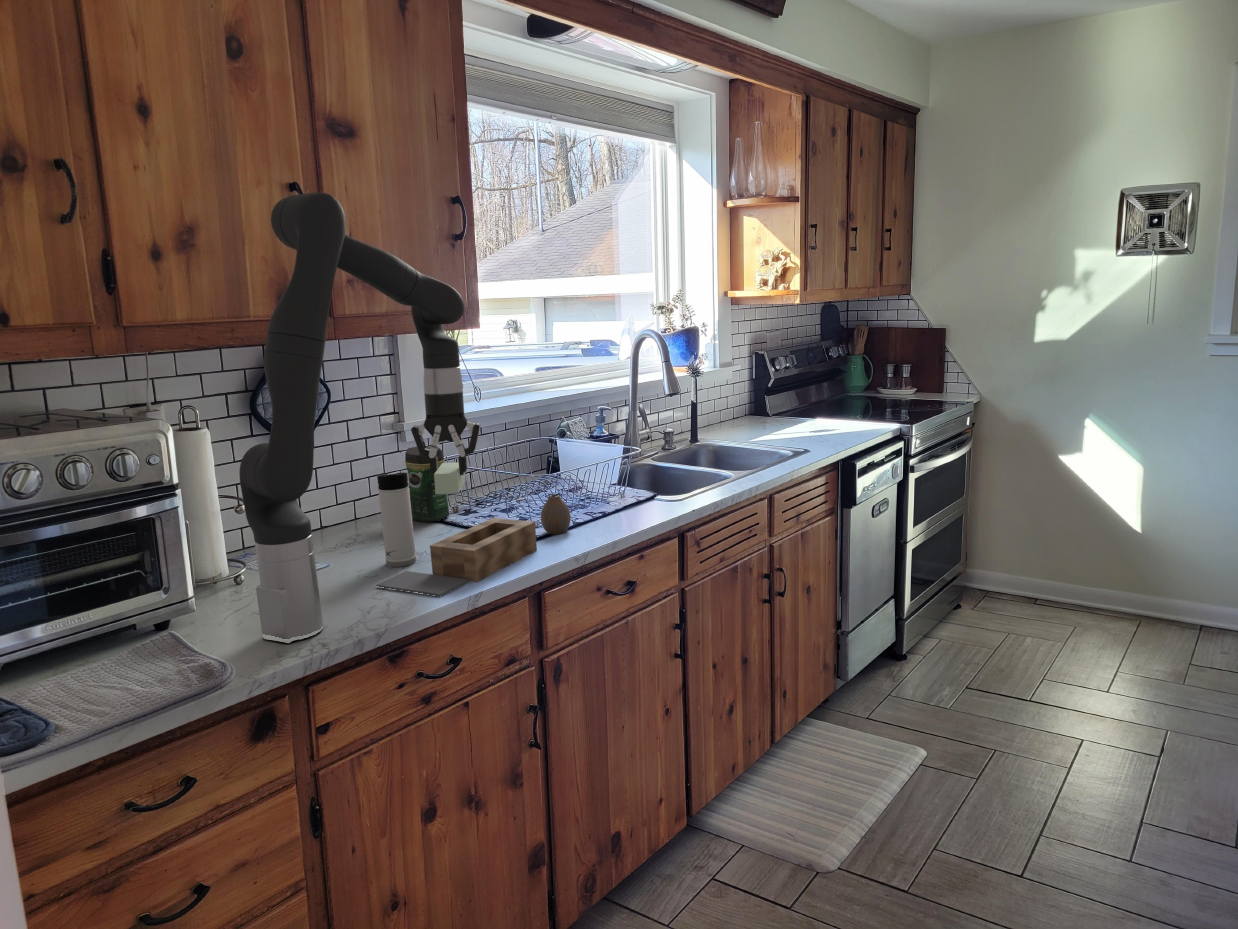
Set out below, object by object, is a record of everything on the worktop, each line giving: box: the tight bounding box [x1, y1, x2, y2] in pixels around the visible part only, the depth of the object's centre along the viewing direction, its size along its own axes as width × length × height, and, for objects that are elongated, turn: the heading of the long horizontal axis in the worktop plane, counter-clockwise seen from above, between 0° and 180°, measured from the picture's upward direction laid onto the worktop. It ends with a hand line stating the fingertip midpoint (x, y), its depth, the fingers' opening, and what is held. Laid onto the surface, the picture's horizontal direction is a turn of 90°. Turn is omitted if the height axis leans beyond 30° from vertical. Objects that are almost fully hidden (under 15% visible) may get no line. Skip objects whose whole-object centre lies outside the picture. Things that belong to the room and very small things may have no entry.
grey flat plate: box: [375, 570, 470, 597], centre depth 181 cm, size 9×16×1 cm, turn 62°
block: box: [434, 461, 466, 495], centre depth 186 cm, size 12×4×4 cm, turn 3°
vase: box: [540, 494, 571, 535], centre depth 213 cm, size 7×7×9 cm
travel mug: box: [376, 472, 417, 568], centre depth 194 cm, size 6×7×20 cm
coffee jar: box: [404, 445, 450, 523], centre depth 231 cm, size 10×8×19 cm
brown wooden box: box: [429, 517, 538, 583], centre depth 193 cm, size 22×11×6 cm, turn 152°
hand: (449, 474), depth 185 cm, fingers closed on block, 4 cm apart
